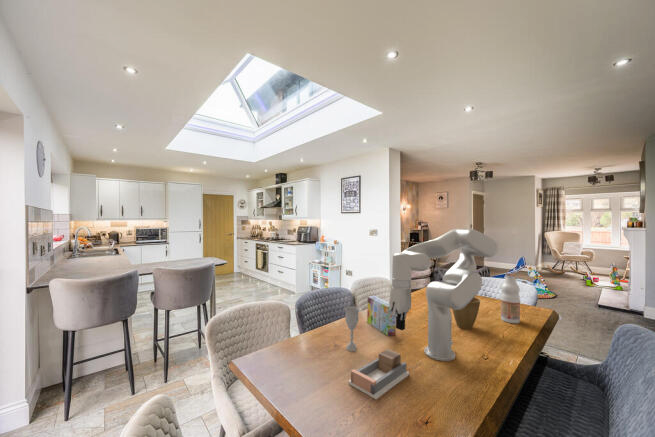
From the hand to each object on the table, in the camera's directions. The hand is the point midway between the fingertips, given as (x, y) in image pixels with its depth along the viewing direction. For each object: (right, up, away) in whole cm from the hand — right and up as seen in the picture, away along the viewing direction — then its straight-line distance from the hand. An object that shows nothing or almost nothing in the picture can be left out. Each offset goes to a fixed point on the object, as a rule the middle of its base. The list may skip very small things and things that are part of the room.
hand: (400, 328), depth 112 cm
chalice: (-19, -15, +14) cm, 27 cm away
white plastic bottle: (+79, -16, +51) cm, 95 cm away
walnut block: (-6, -13, -6) cm, 16 cm away
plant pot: (+47, -16, +41) cm, 64 cm away
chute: (-10, -14, -10) cm, 21 cm away
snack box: (-1, -15, +38) cm, 41 cm away
